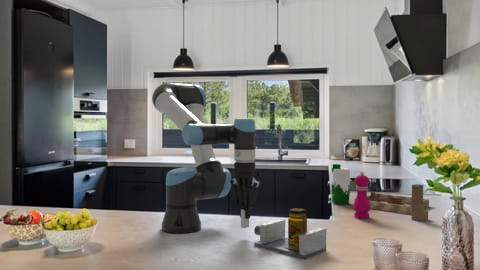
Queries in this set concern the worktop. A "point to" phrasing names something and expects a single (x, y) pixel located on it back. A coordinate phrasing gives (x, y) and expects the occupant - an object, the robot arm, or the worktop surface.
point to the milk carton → (340, 184)
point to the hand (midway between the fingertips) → (245, 227)
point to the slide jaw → (271, 231)
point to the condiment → (296, 226)
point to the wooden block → (418, 203)
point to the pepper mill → (361, 197)
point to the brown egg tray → (393, 206)
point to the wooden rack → (389, 200)
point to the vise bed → (293, 251)
